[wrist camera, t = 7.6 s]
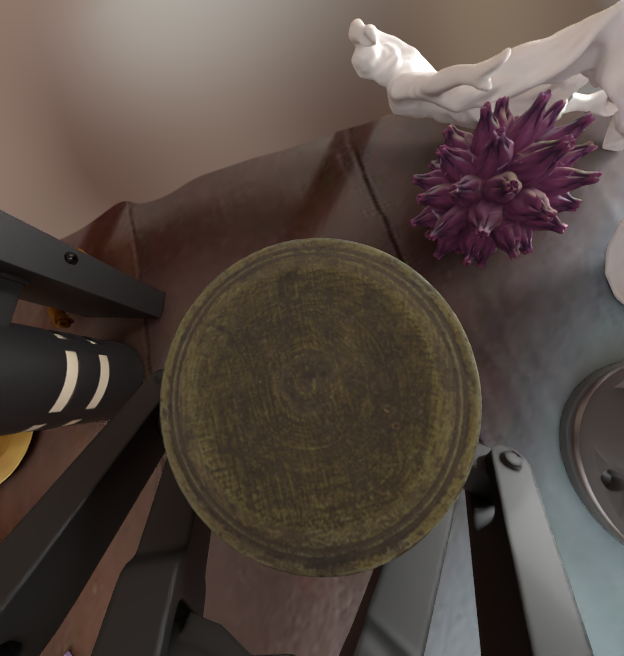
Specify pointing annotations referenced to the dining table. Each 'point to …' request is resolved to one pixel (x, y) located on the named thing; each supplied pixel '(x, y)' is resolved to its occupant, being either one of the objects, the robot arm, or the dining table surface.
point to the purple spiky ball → (503, 181)
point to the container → (320, 407)
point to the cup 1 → (12, 452)
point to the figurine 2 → (504, 74)
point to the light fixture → (58, 347)
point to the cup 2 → (616, 262)
